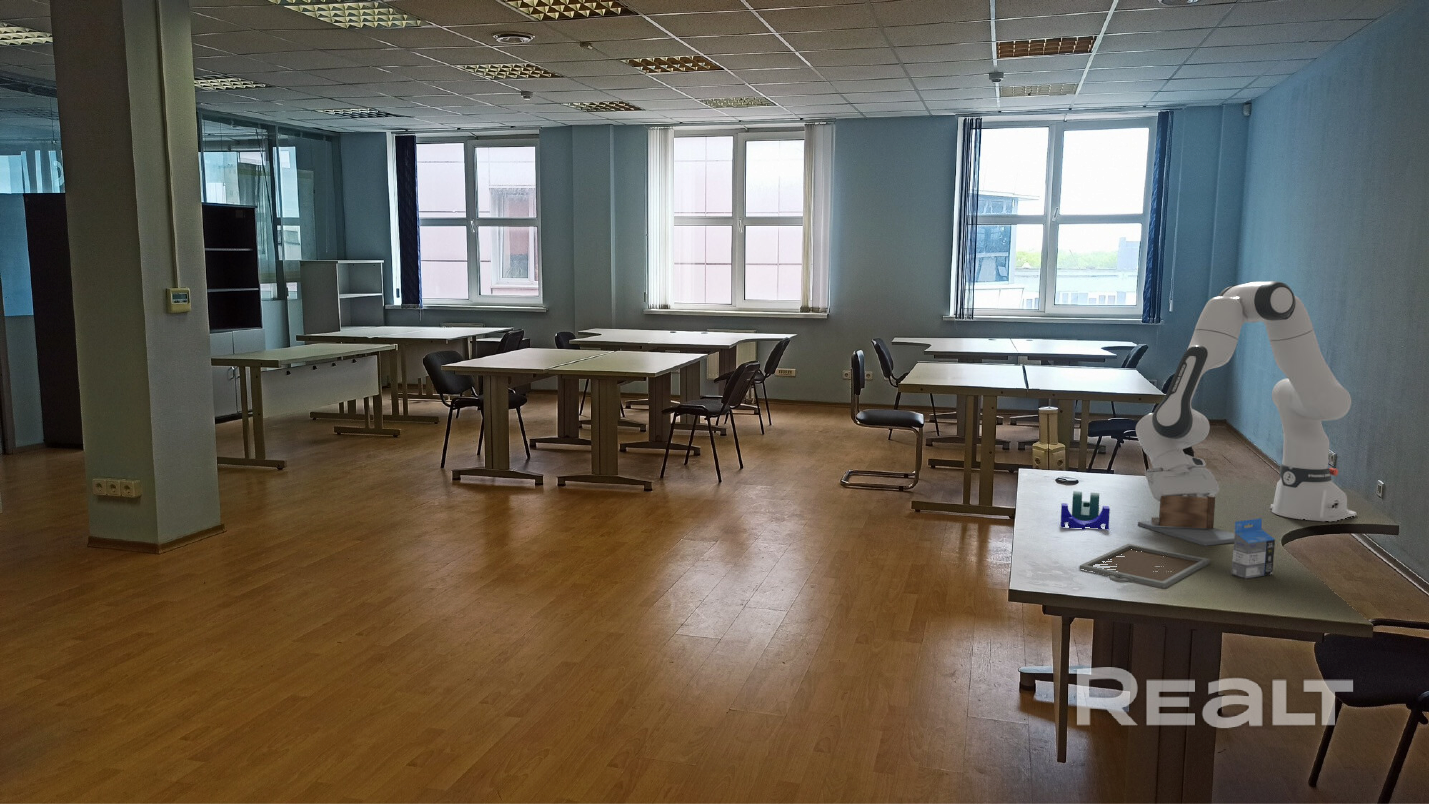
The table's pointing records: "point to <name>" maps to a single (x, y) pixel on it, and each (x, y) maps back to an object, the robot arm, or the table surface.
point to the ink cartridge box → (1252, 550)
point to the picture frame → (1146, 565)
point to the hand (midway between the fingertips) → (1197, 511)
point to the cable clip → (1075, 523)
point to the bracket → (1085, 506)
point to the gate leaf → (1186, 512)
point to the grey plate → (1193, 534)
